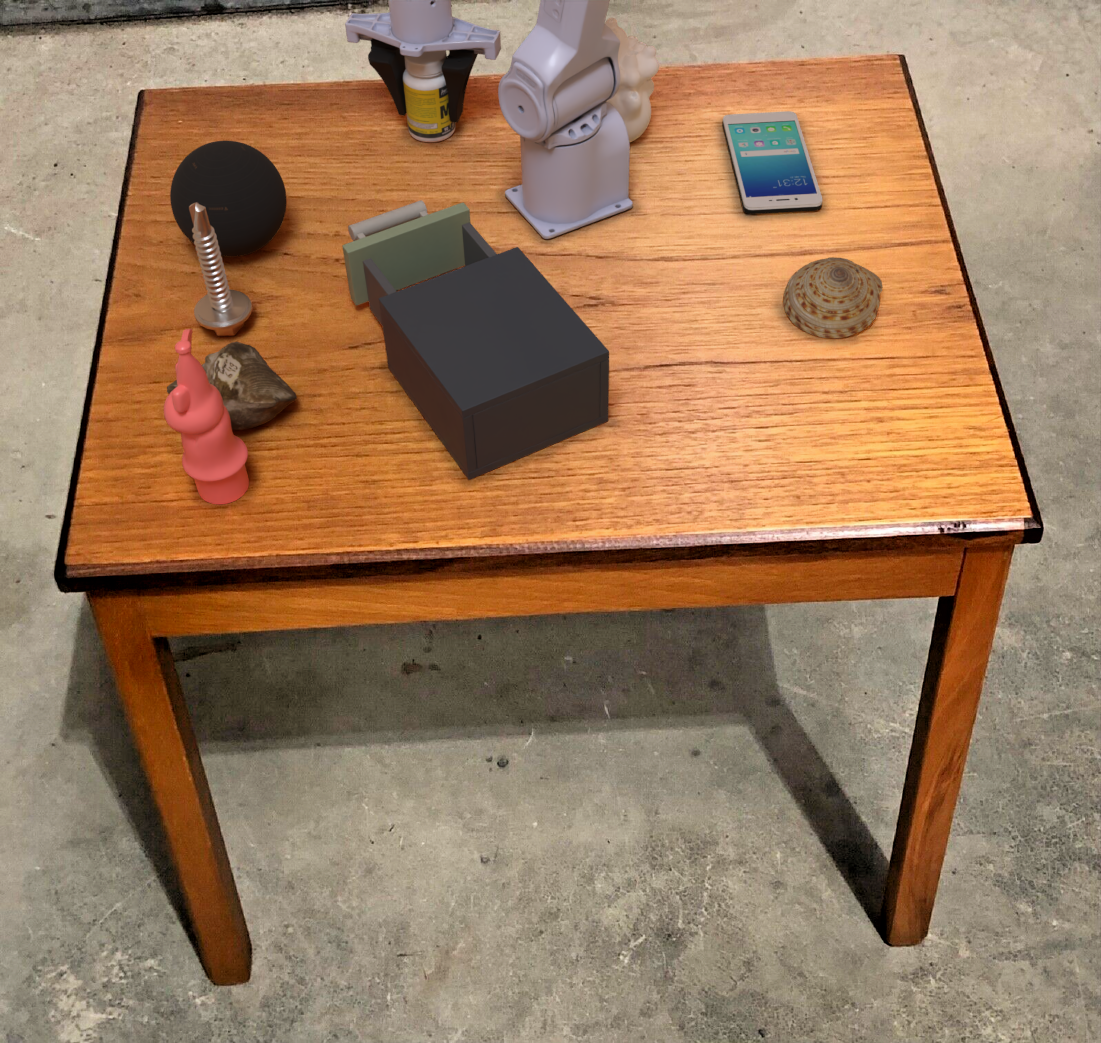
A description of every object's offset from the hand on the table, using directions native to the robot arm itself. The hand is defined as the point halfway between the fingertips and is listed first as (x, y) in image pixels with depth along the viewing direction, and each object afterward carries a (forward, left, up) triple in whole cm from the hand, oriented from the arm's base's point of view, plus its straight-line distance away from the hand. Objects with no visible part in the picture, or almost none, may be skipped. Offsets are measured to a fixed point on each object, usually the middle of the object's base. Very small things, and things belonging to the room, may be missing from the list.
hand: (430, 113), depth 140 cm
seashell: (-18, +41, -2) cm, 45 cm away
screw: (+28, +17, -2) cm, 33 cm away
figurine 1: (+35, +34, -2) cm, 49 cm away
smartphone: (-25, +22, -2) cm, 33 cm away
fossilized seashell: (+31, +27, -2) cm, 41 cm away
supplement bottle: (0, 0, -2) cm, 2 cm away
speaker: (+23, +7, -2) cm, 24 cm away
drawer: (+12, +25, -1) cm, 27 cm away
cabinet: (+12, +36, -2) cm, 38 cm away
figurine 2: (-15, +11, -2) cm, 19 cm away
